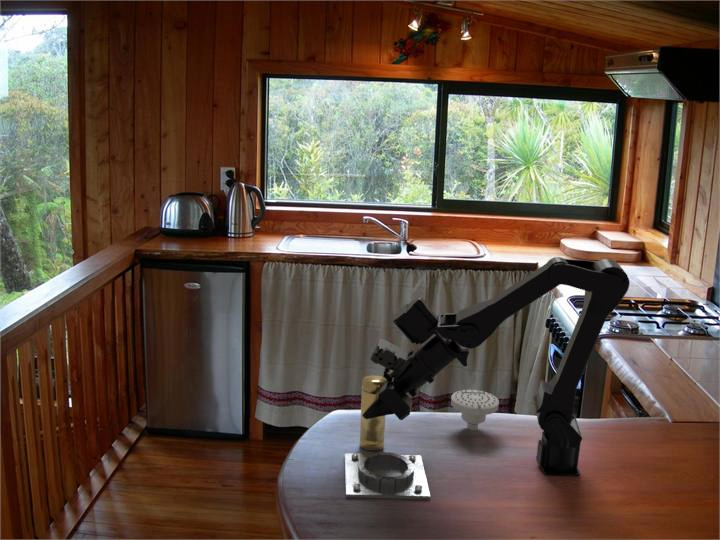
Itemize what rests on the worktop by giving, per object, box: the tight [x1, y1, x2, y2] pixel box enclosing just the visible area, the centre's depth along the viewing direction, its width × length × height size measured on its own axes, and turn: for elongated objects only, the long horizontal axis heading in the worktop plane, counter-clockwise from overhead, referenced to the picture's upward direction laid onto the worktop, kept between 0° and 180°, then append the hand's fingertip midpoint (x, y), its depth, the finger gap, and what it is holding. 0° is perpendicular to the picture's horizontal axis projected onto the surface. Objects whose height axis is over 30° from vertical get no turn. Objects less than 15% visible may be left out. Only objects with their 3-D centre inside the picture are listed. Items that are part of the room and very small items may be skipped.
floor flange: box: [344, 451, 431, 500], centre depth 134 cm, size 14×14×2 cm
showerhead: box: [450, 388, 500, 431], centre depth 153 cm, size 9×7×10 cm
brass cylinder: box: [359, 374, 387, 451], centre depth 143 cm, size 5×5×13 cm
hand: (365, 411), depth 143 cm, fingers closed on brass cylinder, 5 cm apart
